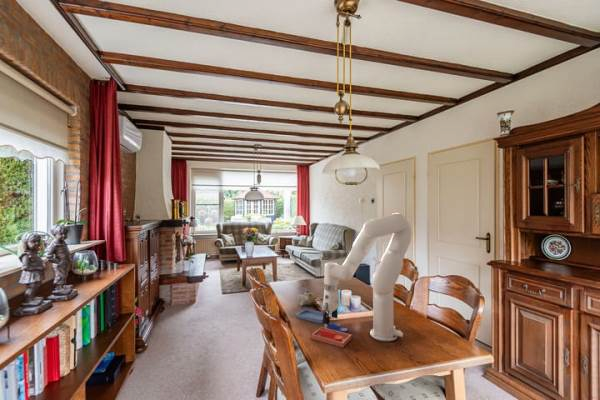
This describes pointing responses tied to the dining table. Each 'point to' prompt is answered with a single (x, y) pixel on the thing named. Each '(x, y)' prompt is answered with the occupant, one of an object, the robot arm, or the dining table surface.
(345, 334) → the rose tray
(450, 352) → the dining table surface
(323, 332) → the red spoon
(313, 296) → the ceramic sculpture
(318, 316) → the blue tray
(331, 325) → the blue spoon
